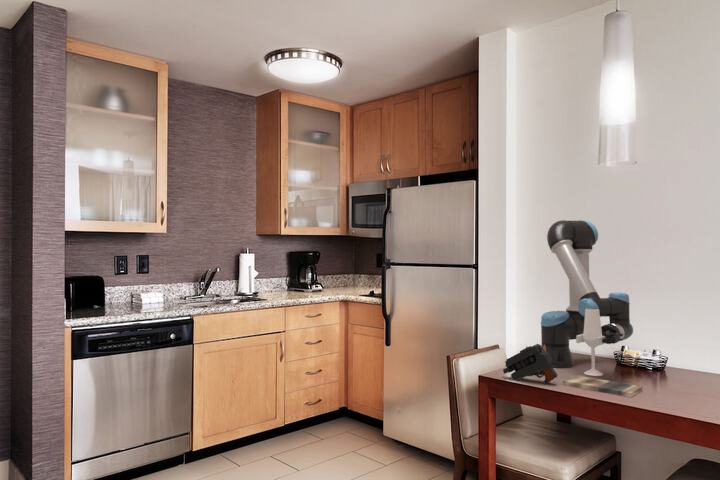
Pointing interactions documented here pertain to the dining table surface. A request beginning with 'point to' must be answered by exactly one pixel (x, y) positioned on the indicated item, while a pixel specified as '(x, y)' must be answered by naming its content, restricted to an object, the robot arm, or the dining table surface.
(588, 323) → the champagne flute
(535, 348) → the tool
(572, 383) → the subfloor board
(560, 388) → the dining table surface
